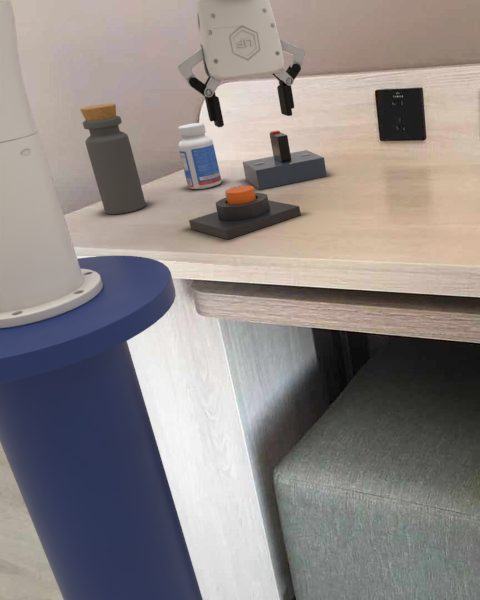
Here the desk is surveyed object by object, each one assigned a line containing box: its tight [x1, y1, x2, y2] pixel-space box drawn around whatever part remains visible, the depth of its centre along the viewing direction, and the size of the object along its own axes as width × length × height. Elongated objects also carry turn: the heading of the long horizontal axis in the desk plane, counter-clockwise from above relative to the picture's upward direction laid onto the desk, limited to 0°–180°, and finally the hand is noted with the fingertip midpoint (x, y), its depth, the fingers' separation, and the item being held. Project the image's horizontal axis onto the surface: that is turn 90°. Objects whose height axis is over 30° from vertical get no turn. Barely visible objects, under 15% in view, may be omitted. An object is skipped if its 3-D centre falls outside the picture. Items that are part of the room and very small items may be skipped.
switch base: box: [188, 192, 301, 240], centre depth 87 cm, size 11×9×3 cm
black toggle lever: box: [269, 129, 291, 162], centre depth 108 cm, size 5×2×4 cm, turn 25°
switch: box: [224, 185, 256, 204], centre depth 86 cm, size 4×4×2 cm
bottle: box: [79, 102, 147, 215], centre depth 99 cm, size 6×6×15 cm
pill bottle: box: [177, 122, 222, 190], centre depth 109 cm, size 6×5×10 cm
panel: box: [242, 149, 328, 191], centre depth 109 cm, size 11×9×3 cm
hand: (253, 120), depth 95 cm, fingers open, 9 cm apart
